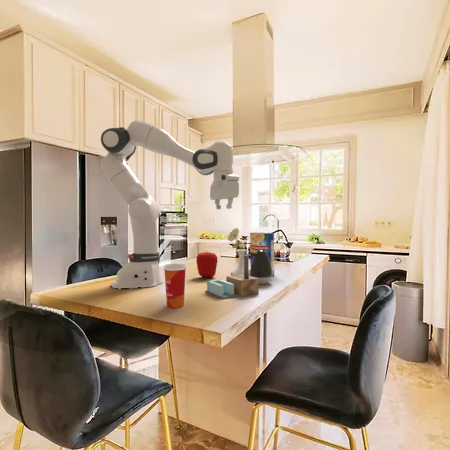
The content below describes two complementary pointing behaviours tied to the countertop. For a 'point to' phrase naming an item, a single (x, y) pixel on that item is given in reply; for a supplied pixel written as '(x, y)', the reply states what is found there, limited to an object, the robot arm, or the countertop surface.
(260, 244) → the beverage box
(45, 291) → the countertop surface
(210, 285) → the c link
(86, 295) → the countertop surface
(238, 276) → the stand
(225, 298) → the mat
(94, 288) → the countertop surface
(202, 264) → the apple
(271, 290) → the countertop surface
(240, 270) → the flower in vase
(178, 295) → the paper cup
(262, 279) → the pump dispenser
